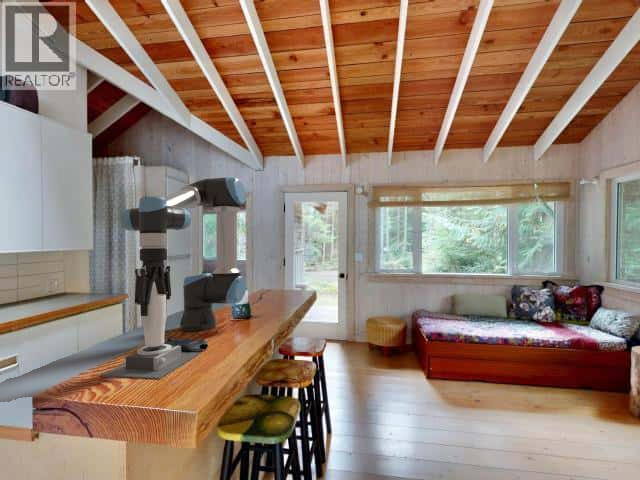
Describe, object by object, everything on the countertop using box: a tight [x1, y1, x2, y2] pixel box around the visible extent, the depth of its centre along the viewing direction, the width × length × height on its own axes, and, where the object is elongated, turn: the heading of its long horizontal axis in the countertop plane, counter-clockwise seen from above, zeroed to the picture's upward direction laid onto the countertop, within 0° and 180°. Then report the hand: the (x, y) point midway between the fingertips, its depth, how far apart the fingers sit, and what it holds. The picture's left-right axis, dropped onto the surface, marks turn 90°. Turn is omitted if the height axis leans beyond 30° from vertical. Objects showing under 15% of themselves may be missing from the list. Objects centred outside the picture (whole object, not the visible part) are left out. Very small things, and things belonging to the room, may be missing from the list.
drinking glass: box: [143, 293, 166, 347], centre depth 107 cm, size 7×7×15 cm
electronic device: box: [164, 337, 209, 353], centre depth 122 cm, size 9×6×15 cm
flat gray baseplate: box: [99, 344, 202, 380], centre depth 106 cm, size 22×18×5 cm
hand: (154, 323), depth 107 cm, fingers closed on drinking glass, 7 cm apart
